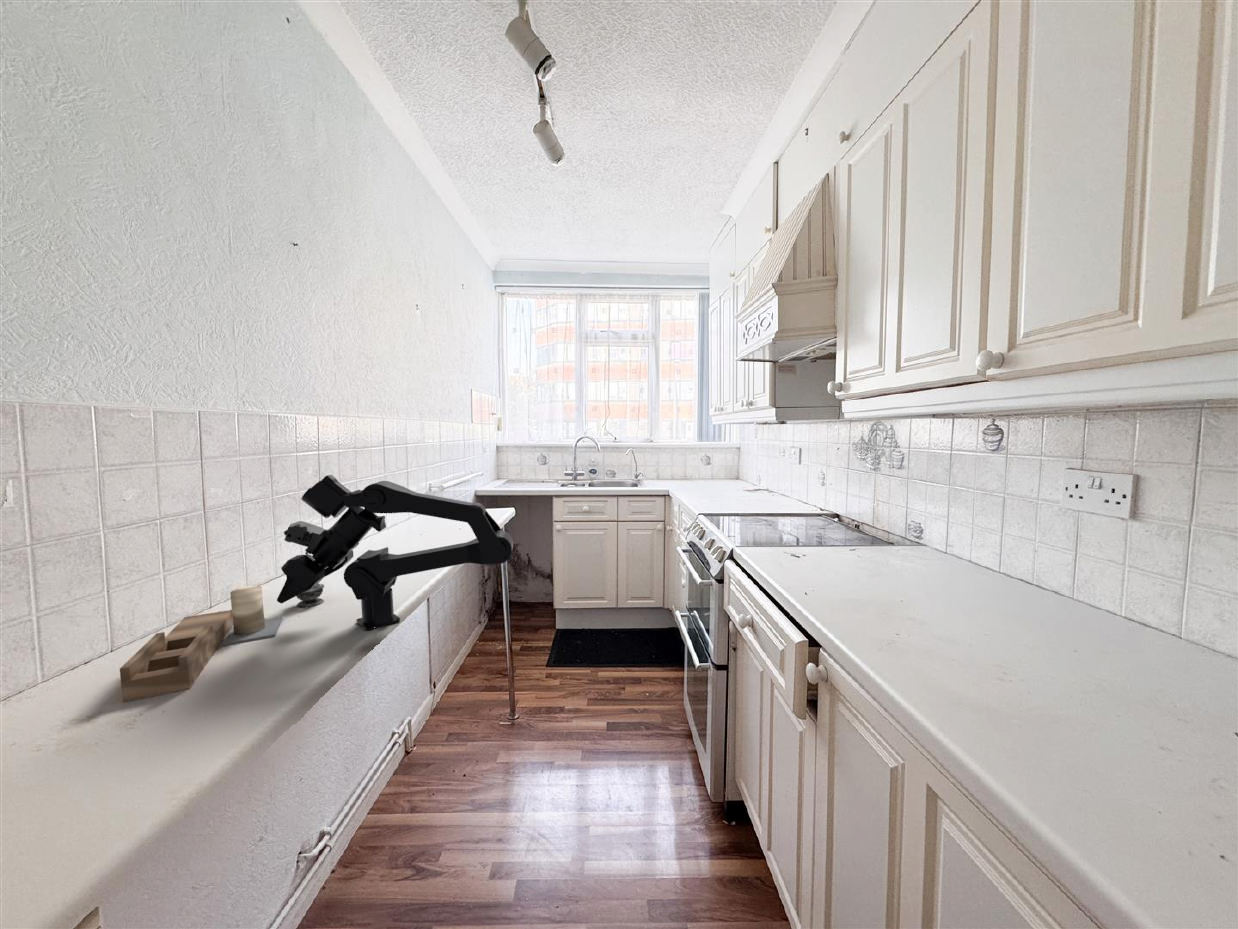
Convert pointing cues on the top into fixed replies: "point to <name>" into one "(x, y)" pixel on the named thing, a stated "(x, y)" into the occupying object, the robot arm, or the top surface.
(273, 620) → the mat
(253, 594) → the birch cylinder
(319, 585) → the salt shaker
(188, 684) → the wooden track
